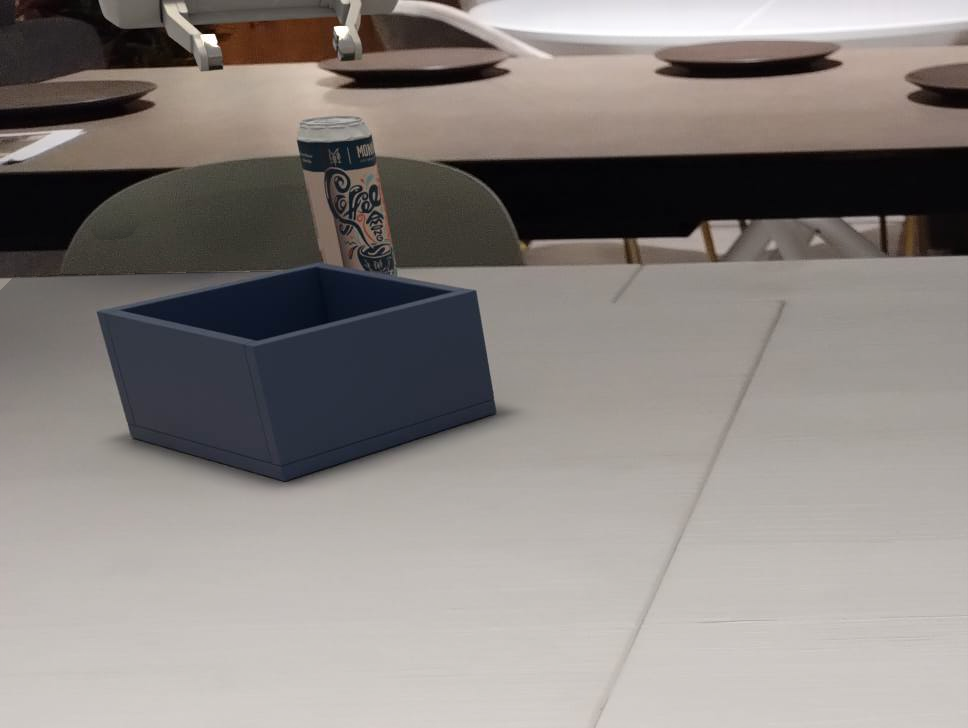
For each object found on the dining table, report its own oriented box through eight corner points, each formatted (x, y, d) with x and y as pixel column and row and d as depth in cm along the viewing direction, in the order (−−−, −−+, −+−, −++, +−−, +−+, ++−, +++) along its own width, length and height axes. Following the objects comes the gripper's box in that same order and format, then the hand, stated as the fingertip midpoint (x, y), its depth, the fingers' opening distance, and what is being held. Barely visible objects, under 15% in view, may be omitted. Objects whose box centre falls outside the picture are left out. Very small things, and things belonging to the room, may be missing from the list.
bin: (130, 437, 91) (95, 311, 87) (344, 377, 100) (319, 262, 97) (284, 481, 84) (253, 346, 81) (497, 412, 94) (476, 290, 90)
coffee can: (367, 312, 115) (331, 126, 109) (315, 306, 117) (276, 123, 111) (417, 297, 119) (384, 116, 113) (366, 291, 120) (331, 113, 115)
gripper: (54, -132, 112) (119, 37, 110) (364, -137, 122) (429, 18, 120) (64, -60, 118) (125, 103, 115) (360, -70, 128) (422, 79, 125)
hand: (283, 59), depth 118 cm, fingers open, 8 cm apart
